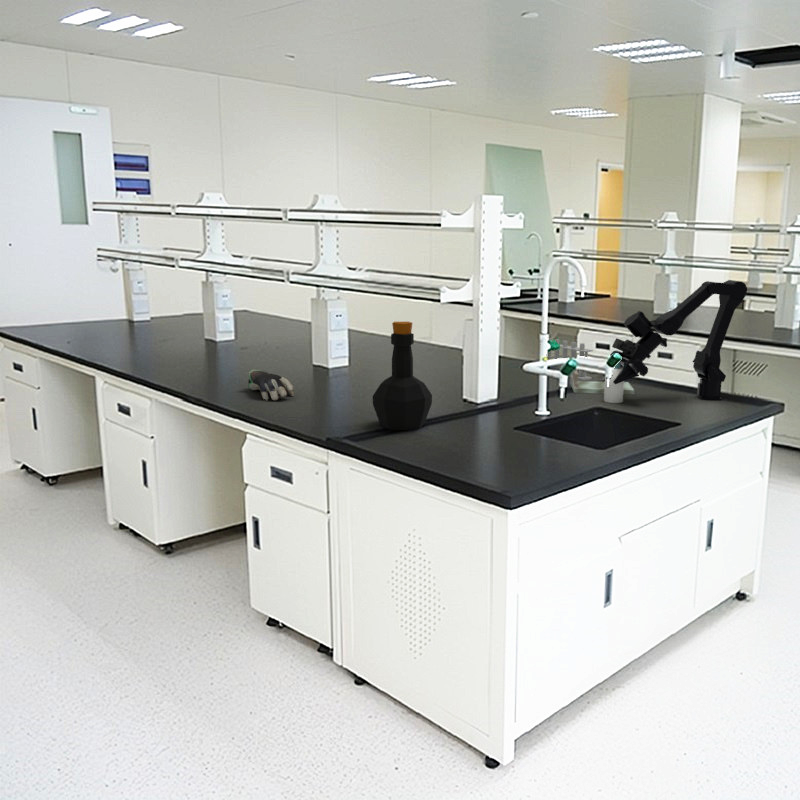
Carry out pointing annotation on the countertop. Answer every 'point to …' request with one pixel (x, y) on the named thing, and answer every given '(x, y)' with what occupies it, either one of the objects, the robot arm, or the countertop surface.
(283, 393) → the glove
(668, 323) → the robot arm
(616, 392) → the white bottle
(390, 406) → the bottle
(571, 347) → the test tube rack
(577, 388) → the shelf board
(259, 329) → the countertop surface
